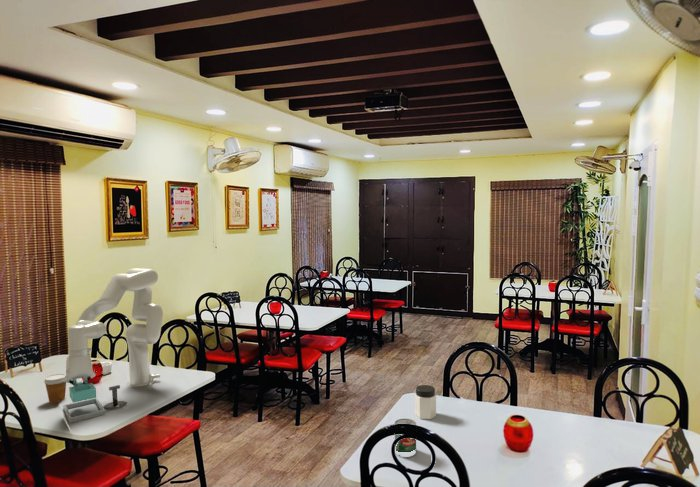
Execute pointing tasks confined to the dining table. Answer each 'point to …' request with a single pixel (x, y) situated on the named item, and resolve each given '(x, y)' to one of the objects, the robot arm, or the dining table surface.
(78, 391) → the teal box on base
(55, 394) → the disposable coffee cup
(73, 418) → the tray
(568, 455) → the dining table surface
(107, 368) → the teacup
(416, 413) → the jar
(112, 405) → the grey t-shaped stand
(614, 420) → the dining table surface
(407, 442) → the canned tomato
